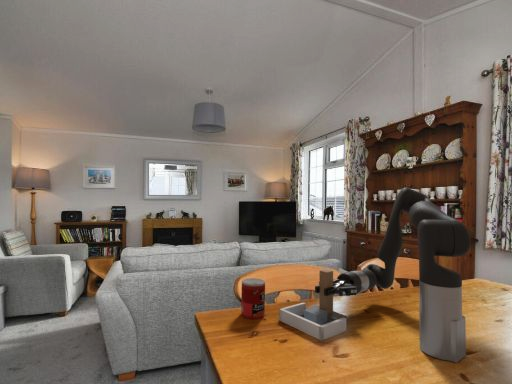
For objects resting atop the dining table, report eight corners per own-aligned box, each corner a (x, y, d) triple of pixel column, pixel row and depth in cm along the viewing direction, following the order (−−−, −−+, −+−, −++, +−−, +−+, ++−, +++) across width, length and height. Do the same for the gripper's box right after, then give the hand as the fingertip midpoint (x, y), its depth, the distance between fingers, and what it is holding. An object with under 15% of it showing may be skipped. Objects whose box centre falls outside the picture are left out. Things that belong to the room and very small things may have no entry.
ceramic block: (327, 324, 90) (327, 311, 90) (316, 328, 87) (316, 315, 87) (314, 319, 94) (314, 306, 94) (303, 323, 91) (304, 309, 91)
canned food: (255, 321, 91) (256, 285, 92) (236, 315, 96) (236, 281, 97) (269, 314, 97) (269, 280, 98) (250, 308, 102) (251, 276, 103)
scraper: (347, 322, 90) (347, 273, 91) (336, 326, 87) (336, 275, 88) (316, 311, 100) (317, 266, 100) (306, 314, 97) (307, 268, 97)
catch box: (346, 330, 86) (346, 318, 86) (321, 340, 79) (321, 327, 79) (303, 312, 99) (303, 302, 99) (279, 320, 93) (279, 309, 93)
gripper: (336, 268, 108) (303, 274, 98) (371, 275, 97) (338, 284, 87) (336, 288, 108) (303, 297, 97) (371, 298, 97) (338, 309, 86)
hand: (320, 291), depth 92 cm, fingers closed on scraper, 3 cm apart
